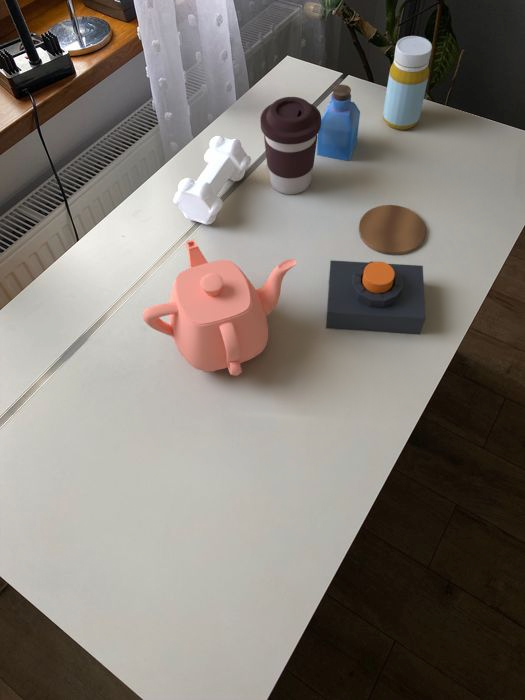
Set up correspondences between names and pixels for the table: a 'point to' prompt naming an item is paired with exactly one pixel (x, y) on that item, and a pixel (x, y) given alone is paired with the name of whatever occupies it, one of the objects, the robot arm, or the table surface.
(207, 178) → the bone shaped toy
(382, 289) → the orange push button
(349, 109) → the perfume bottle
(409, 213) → the coaster
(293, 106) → the coffee cup
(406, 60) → the bottle
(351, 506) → the table surface
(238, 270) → the teapot
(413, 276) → the push button box
